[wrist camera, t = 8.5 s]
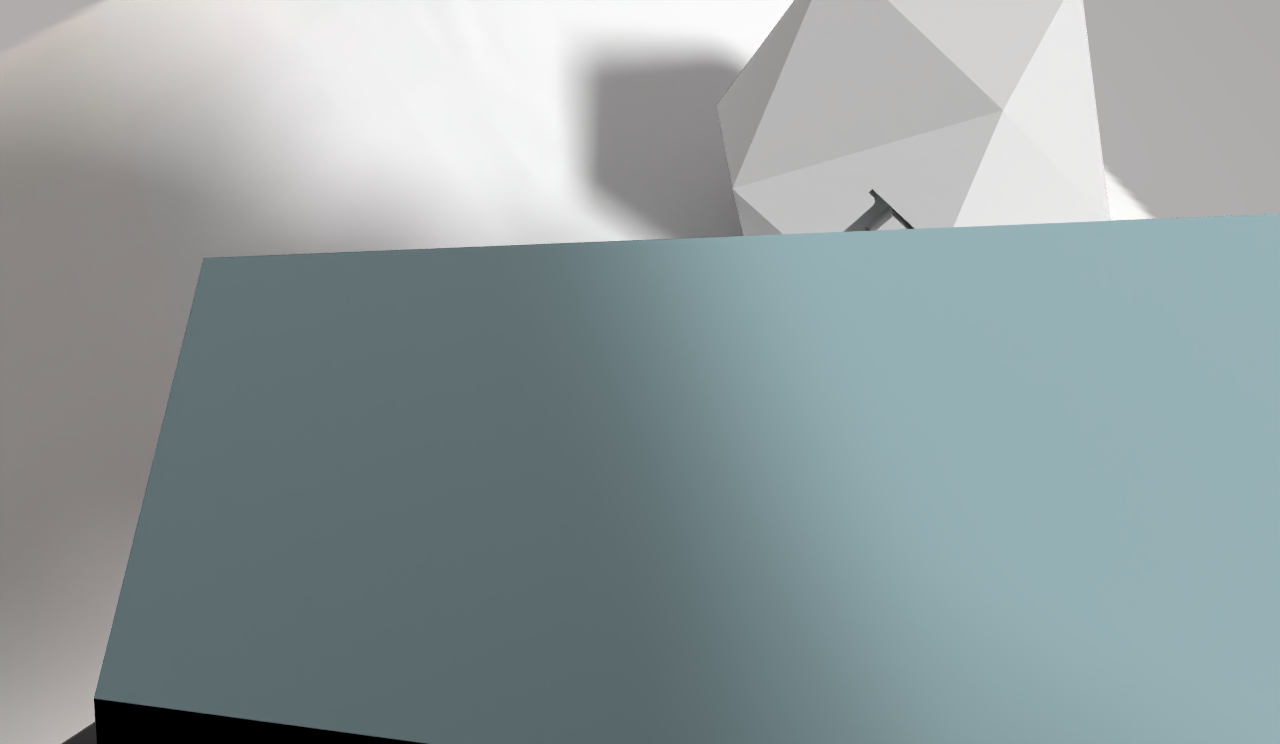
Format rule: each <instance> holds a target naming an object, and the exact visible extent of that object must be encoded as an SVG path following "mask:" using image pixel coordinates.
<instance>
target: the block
mask: <svg viewBox="0 0 1280 744" xmlns="http://www.w3.org/2000/svg"><path fill="white" fill-rule="evenodd" d="M94 706H95V722H96V738H97V744H1280V214H1264V215H1239V216H1215V217H1190V218H1168V219H1142V220H1117V221H1093V222H1069V223H1045V224H1020V225H996V226H972V227H948V228H923V229H899V230H875V231H851V232H826V233H802V234H778V235H754V236H729V237H705V238H681V239H657V240H632V241H608V242H584V243H560V244H535V245H511V246H487V247H463V248H438V249H414V250H390V251H366V252H341V253H317V254H293V255H269V256H244V257H220V258H204V260H203V264H202V268H201V272H200V276H199V280H198V284H197V288H196V292H195V296H194V300H193V304H192V308H191V312H190V316H189V320H188V324H187V328H186V332H185V336H184V340H183V344H182V348H181V352H180V356H179V360H178V364H177V368H176V372H175V376H174V380H173V384H172V388H171V392H170V396H169V400H168V404H167V408H166V412H165V416H164V420H163V424H162V428H161V432H160V436H159V440H158V444H157V448H156V452H155V456H154V460H153V464H152V468H151V472H150V476H149V480H148V484H147V488H146V492H145V496H144V500H143V504H142V508H141V512H140V516H139V520H138V524H137V528H136V532H135V536H134V540H133V544H132V548H131V552H130V556H129V560H128V564H127V568H126V572H125V576H124V580H123V584H122V588H121V592H120V596H119V600H118V604H117V608H116V612H115V616H114V620H113V624H112V628H111V632H110V636H109V640H108V644H107V648H106V652H105V656H104V660H103V664H102V668H101V672H100V676H99V680H98V684H97V688H96V692H95V697H94Z"/></svg>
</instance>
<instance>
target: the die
mask: <svg viewBox="0 0 1280 744" xmlns="http://www.w3.org/2000/svg"><path fill="white" fill-rule="evenodd" d="M716 106H717V111H718V116H719V121H720V127H721V132H722V137H723V142H724V148H725V153H726V158H727V163H728V169H729V174H730V179H731V184H732V189H733V194H734V198H735V202H736V207H737V211H738V216H739V220H740V224H741V229H742V233H743V236H754V235H778V234H802V233H826V232H851V231H875V230H899V229H923V228H948V227H972V226H996V225H1020V224H1045V223H1069V222H1093V221H1109V220H1110V214H1109V206H1108V198H1107V190H1106V182H1105V174H1104V166H1103V158H1102V151H1101V142H1100V134H1099V126H1098V118H1097V111H1096V102H1095V95H1094V86H1093V79H1092V70H1091V63H1090V54H1089V46H1088V39H1087V30H1086V22H1085V14H1084V7H1083V0H794V2H793V3H792V4H791V6H790V7H789V8H788V10H787V11H786V12H785V14H784V15H783V17H782V18H781V19H780V21H779V22H778V23H777V25H776V26H775V27H774V29H773V30H772V31H771V33H770V34H769V35H768V37H767V38H766V39H765V41H764V42H763V43H762V45H761V46H760V47H759V49H758V50H757V51H756V53H755V54H754V55H753V57H752V58H751V59H750V61H749V62H748V64H747V65H746V66H745V68H744V69H743V70H742V72H741V73H740V74H739V76H738V77H737V78H736V80H735V81H734V82H733V84H732V85H731V86H730V88H729V89H728V90H727V92H726V93H725V94H724V96H723V97H722V98H721V100H720V101H719V102H718V104H717V105H716Z"/></svg>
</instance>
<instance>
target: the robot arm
mask: <svg viewBox="0 0 1280 744" xmlns="http://www.w3.org/2000/svg"><path fill="white" fill-rule="evenodd" d="M62 744H97V738H96V722H94V723H93V724H91V725H89V726H88V727H86V728H85V729H83V730H82V731H80V732H79V733H77V734H76V735H74V736H73V737H71V738H70V739H68V740H66V741H65V742H63V743H62Z"/></svg>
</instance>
